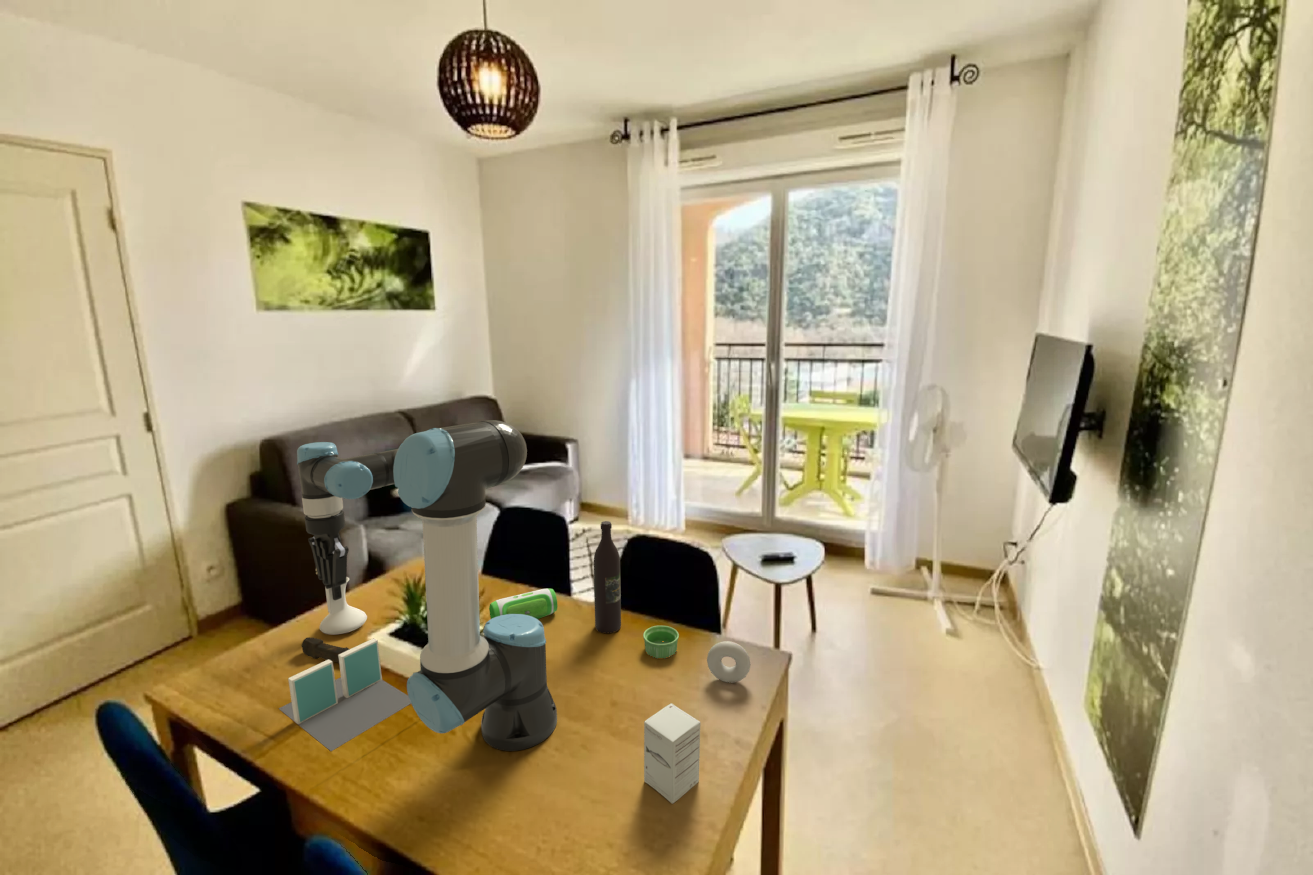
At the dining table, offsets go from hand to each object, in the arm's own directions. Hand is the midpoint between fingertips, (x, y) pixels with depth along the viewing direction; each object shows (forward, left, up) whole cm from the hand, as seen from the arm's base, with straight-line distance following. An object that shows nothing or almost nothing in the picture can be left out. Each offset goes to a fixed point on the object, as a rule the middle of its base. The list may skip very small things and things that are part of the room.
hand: (335, 610), depth 129 cm
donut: (-75, -49, -17) cm, 91 cm away
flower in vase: (+22, -11, -17) cm, 30 cm away
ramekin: (-55, -51, -17) cm, 77 cm away
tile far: (-8, 0, -16) cm, 18 cm away
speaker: (-15, -42, -17) cm, 48 cm away
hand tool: (+10, -1, -17) cm, 20 cm away
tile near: (-8, +10, -16) cm, 21 cm away
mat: (-11, +5, -17) cm, 21 cm away
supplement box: (-80, -17, -17) cm, 84 cm away
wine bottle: (-37, -52, -17) cm, 66 cm away
